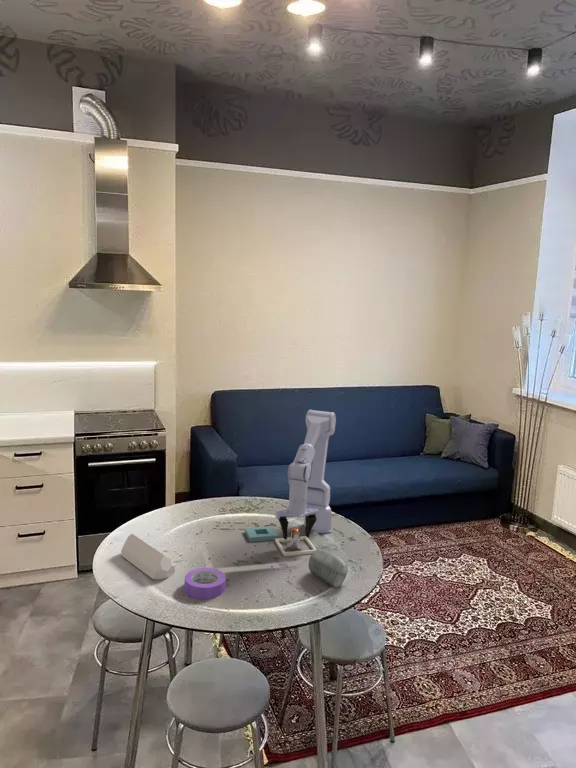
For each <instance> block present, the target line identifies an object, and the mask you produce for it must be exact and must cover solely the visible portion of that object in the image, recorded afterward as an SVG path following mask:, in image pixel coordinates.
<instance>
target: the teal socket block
mask: <svg viewBox="0 0 576 768" xmlns="http://www.w3.org/2000/svg"><path fill="white" fill-rule="evenodd" d="M244 533H245V535H246V537H247V539H248V540H249V542H250V543H252V542H265V541H266V542H267V541H275V539H278V538H279V536H280V535H279V534H278V533H277V530H276V529H275V527H274V526H273V525H269V526H256V527H245V528H244Z"/></svg>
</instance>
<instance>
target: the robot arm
mask: <svg viewBox="0 0 576 768" xmlns="http://www.w3.org/2000/svg"><path fill="white" fill-rule="evenodd" d="M336 422H337V417H336V413H335V412H333V411H331V412H330V411H322V410H313V409H309V410H308V411H307V412H306V415H305V425H306V429H307V430H306V434H305V438H304V442H303V444H300V445H299V446H298V449H297V452H296V455H295V457H294V459H293V462H291V463H290V464H289V465H288V468H287V479H288V485H289V495H288V497H289V498H288V500H289V501H288V508H287V509H283V510H282V509H281V510H278V511H275V515H274V517H275V519H276V520H278V522H279V524H280V527H281V530H282V538H284V539H287V538H288V527H289V521H288V518H303V519H304V520H303V526H304V529H305V530H304V531H305V532H304V536H306V537H307V538H308V539H309V538H310V534H311V531H312V530H313V531H315V532H316V534H327V533H332V530H331V529H332V508H331V507H330V505H329V504H330V501H331V486H330V485H329V484H328V483H327V482H326V481H325V470H326V461H327V455H328V446H329V439H330V436H333V435H335V431H336V424H337V423H336Z"/></svg>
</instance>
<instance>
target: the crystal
mask: <svg viewBox="0 0 576 768" xmlns="http://www.w3.org/2000/svg"><path fill="white" fill-rule="evenodd" d="M120 552H121V553H120V554H121V555H120V556H122V557H123V558H124V559H126V560H127V561H128V562H129V563H130V564H133V566H135V567H136V568H138V569H139V570H140V571H141V572H143V573H144V574H145V575H147V576H148V577H149V578H151V579H152V580H157V581H159V580H158V579H162V580H164V578H165V579H168V578H170V577H172V576H173V574H174V573H175V572H176V571H175V570H176V565H175V564H174V562H173V561H172V559H171V558H170V557H168V556H167V555H165V554H164V553H162V552H160V551H159V550H158V549H157V548H155V547H153V546H152V545H150V544H149V543H148V542H146V541H144V540H143V539H142V538H140V537H138V536H137V535H135V534H133V533H130V535H128V536H127V538H126V539H125V541H124V544H123V546H122V548H121V551H120ZM167 577H168V578H167Z"/></svg>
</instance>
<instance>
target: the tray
mask: <svg viewBox="0 0 576 768" xmlns="http://www.w3.org/2000/svg"><path fill="white" fill-rule="evenodd" d="M300 541H305V542H306V543H307V544H308V546H309V547H310V548H311V549H308V550H295V551H285V550H284V548H283V546H282V544H281V543H286V542H291V536H290V537H287V539H284V538H283V537H281V538H278V539H275V540H274V543H275V544H276V545H277V547H278V549H279V551H280V552H281V553H282V555H283V557H291V556H293V557H294V556H301V555H312V553H313V552H314V551H315V550H317V549H318V548H316V547H315V546H314V544H313V543H312V541H311V540H310V539H309V538H307V537H306V536H305V535H304V536H300Z"/></svg>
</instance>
